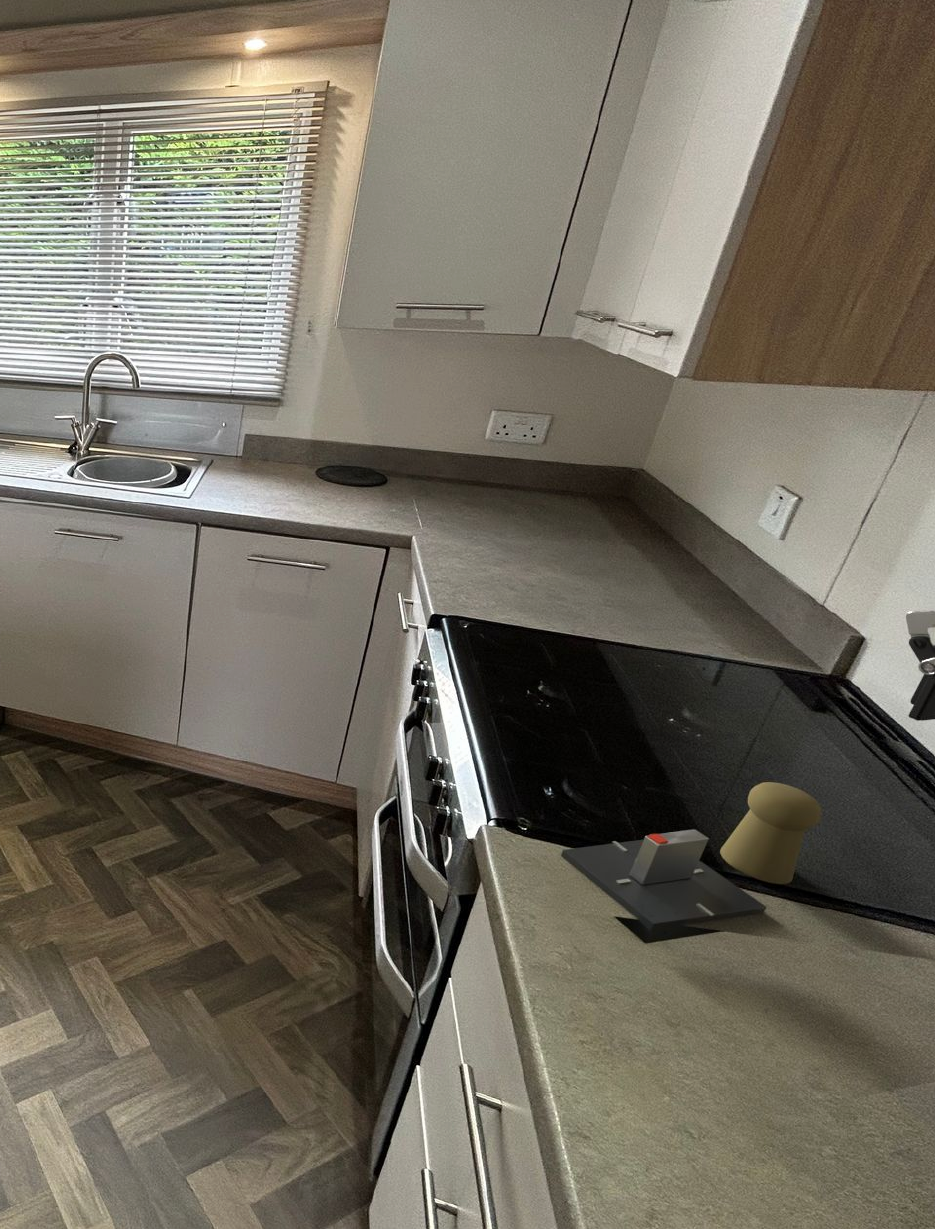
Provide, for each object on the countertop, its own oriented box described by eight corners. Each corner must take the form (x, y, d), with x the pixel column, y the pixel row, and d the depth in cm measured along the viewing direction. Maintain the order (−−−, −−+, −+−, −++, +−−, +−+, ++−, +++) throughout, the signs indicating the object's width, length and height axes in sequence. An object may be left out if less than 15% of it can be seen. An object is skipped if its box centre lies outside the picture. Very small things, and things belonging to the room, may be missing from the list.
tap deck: (656, 854, 83) (664, 834, 82) (758, 927, 73) (768, 906, 72) (555, 867, 80) (562, 847, 80) (646, 944, 71) (655, 923, 70)
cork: (762, 903, 76) (806, 815, 72) (697, 862, 81) (734, 778, 77) (803, 892, 78) (849, 805, 74) (736, 852, 83) (775, 769, 79)
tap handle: (677, 867, 77) (695, 826, 75) (691, 877, 76) (710, 836, 74) (629, 875, 76) (645, 833, 74) (642, 885, 75) (659, 843, 73)
